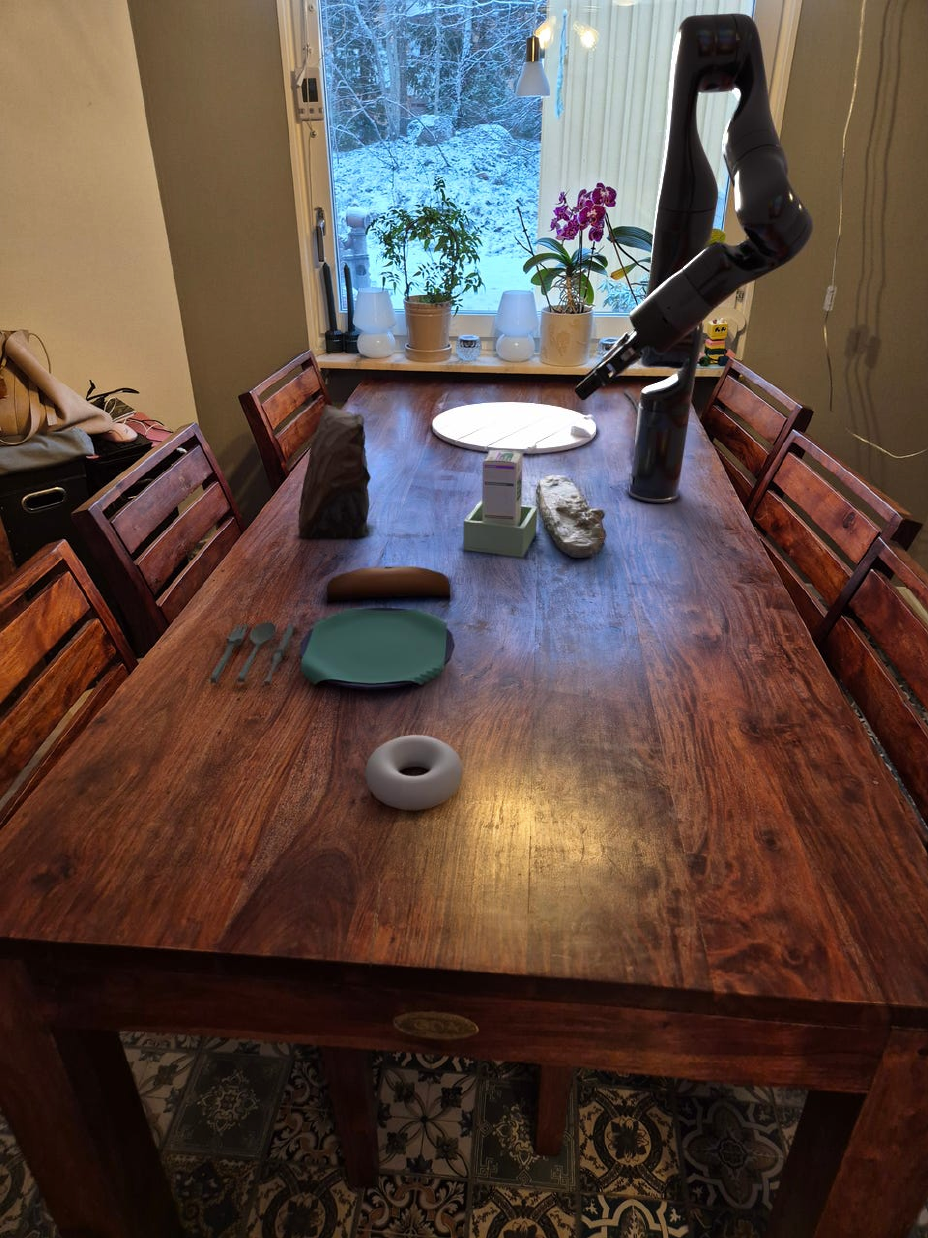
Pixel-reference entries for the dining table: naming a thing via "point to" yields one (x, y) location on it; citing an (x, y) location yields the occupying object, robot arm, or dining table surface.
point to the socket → (499, 533)
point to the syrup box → (502, 487)
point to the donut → (414, 788)
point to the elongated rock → (570, 517)
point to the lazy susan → (514, 427)
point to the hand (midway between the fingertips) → (583, 388)
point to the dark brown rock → (336, 479)
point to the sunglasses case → (387, 583)
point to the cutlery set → (359, 648)
